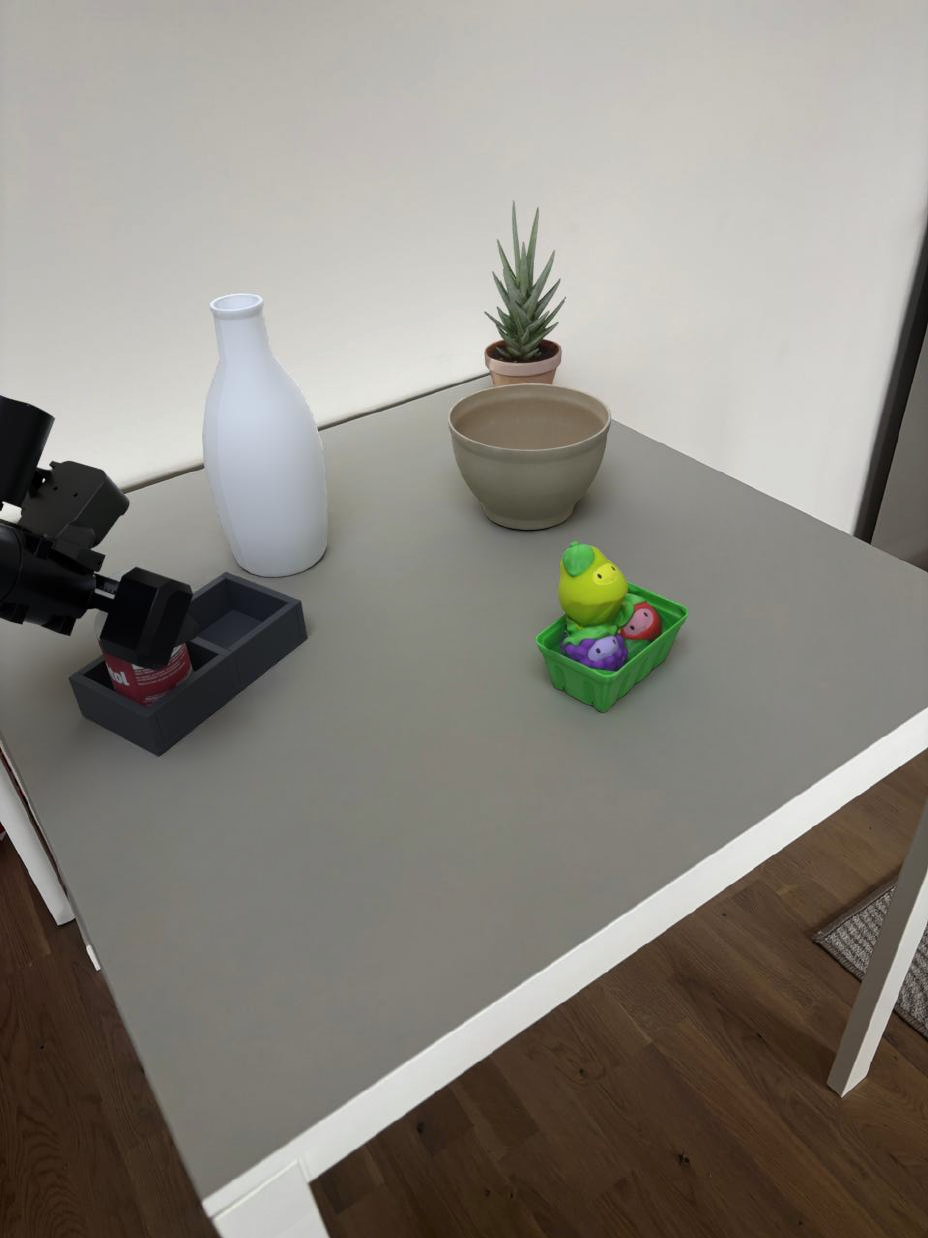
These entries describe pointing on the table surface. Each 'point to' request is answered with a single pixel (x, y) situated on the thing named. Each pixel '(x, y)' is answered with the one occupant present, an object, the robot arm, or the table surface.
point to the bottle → (262, 449)
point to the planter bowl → (529, 450)
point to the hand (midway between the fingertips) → (152, 614)
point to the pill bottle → (138, 680)
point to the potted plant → (523, 320)
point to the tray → (201, 663)
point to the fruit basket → (605, 630)
